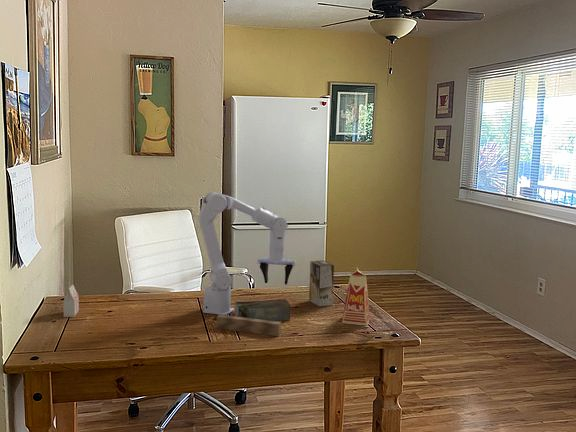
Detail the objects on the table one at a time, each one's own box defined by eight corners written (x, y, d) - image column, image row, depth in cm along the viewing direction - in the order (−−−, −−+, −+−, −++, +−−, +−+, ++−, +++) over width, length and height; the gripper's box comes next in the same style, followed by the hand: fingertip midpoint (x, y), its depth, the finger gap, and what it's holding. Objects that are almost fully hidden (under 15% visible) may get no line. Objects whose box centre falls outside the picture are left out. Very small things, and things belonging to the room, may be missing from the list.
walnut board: (216, 328, 198) (216, 316, 197) (219, 325, 200) (219, 314, 199) (278, 336, 191) (278, 324, 191) (280, 333, 194) (281, 322, 193)
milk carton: (367, 325, 204) (370, 269, 202) (341, 323, 206) (343, 267, 203) (369, 317, 213) (372, 264, 211) (344, 315, 215) (346, 262, 212)
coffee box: (333, 305, 228) (335, 264, 226) (318, 306, 225) (320, 266, 223) (322, 298, 236) (323, 260, 234) (308, 300, 233) (309, 261, 231)
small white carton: (63, 317, 205) (62, 289, 203) (68, 311, 211) (67, 284, 210) (74, 316, 205) (74, 289, 204) (78, 311, 212) (78, 284, 210)
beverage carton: (234, 317, 211) (234, 299, 210) (286, 314, 215) (286, 297, 214) (237, 324, 203) (237, 305, 202) (291, 321, 207) (291, 303, 207)
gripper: (255, 248, 217) (255, 284, 219) (294, 251, 215) (293, 287, 217) (260, 245, 224) (259, 279, 226) (297, 247, 222) (296, 282, 223)
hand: (276, 283), depth 222 cm, fingers open, 7 cm apart
